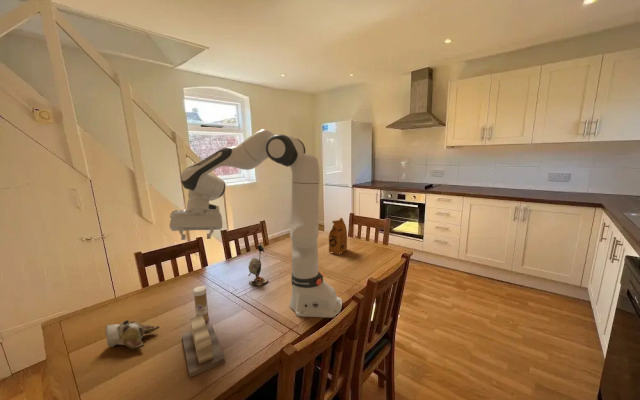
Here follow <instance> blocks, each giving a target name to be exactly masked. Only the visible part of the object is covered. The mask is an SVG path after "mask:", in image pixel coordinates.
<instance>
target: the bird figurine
mask: <svg viewBox="0 0 640 400" xmlns="http://www.w3.org/2000/svg"><path fill="white" fill-rule="evenodd" d="M256 247H257V249H258V252H259V255H261V253H262V252H263V253H265V251H264V250H265V247H263V245H262V244H258V245H257V246H256ZM248 270H249V274H248V277H250V275H251V274H252V275H255V278H254V279H253V280H254V281H253V280H251V281H250V282H249V283H248V284H249V285H253V286H255V285H257V286H262V285H263V284H265V283H268V282H269V280H268V279H267V280H266V279H265V278H264V277H262V276H260V273H261V271H262V261H261V256H259V259H258V258H255V257H253V258H251V260H250V262H249V264H248Z"/></svg>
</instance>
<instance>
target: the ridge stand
mask: <svg viewBox="0 0 640 400" xmlns="http://www.w3.org/2000/svg"><path fill="white" fill-rule="evenodd" d="M189 321H190V327H191V328H190V329H191V330H190V331H187V332H184V333H182V334H181V336H182V344H183V349H184V354H185V361H186V364H187V365H186V366H187V370H188V371H187V372H188V377H189V378H192V377H194V376H196V375H199V374H202V373H204V372H205V371H207V370H210V369H212V368H215V367H217V366H219V365H221V364H224V363H225V362H226V357H225V355H224V352H223V350H222V347H221V345H220V341H219V339H218V336H217V334H216V331H215V329H214V326H213V323H210V324H206V322H205V321H204V318H203V315H200V316H197V317H196V316H194V317H192V318H189Z"/></svg>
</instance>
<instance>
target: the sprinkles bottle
mask: <svg viewBox="0 0 640 400" xmlns="http://www.w3.org/2000/svg"><path fill="white" fill-rule="evenodd" d="M192 292H193V298H194V310H195V317H197V316H200V315H203V318H204V321H205V323H206V322H208V320H209V319H210V317H209V306H208V299H207V287H206V286H202V285H201V286H197V287H195V288H194V289H193V290H192Z"/></svg>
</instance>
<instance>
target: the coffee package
mask: <svg viewBox="0 0 640 400" xmlns="http://www.w3.org/2000/svg"><path fill="white" fill-rule="evenodd" d="M331 224H333V225H332V227H331V230H330V231H329V232H328V233H329V234H328V252H329V253H330V252H333V253H335V254H334V255H337V254H339V253H341V252H344V251H345V250H346V249H347V250H348V231H347V230H348V229H347V226H346V223H345V221H344V219H343V217H340V218H339V219H337V220H332V223H331ZM347 250H346V251H347ZM346 251H345V252H346ZM345 252H344V253H345ZM333 253H332V254H333ZM341 254H342V253H341Z"/></svg>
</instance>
